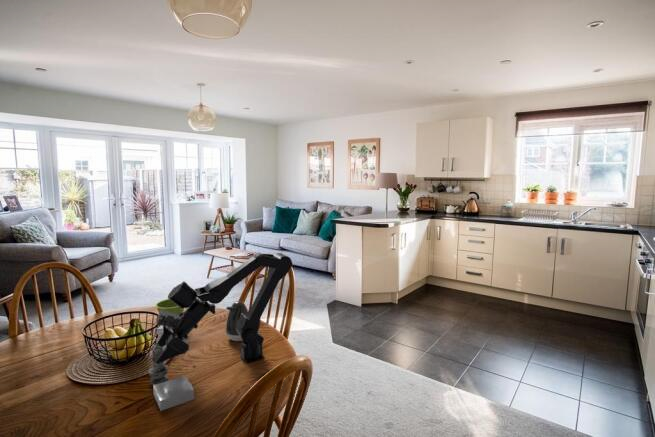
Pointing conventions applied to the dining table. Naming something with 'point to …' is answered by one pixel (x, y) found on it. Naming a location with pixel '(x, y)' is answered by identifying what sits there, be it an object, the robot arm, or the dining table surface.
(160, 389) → the rectangular block
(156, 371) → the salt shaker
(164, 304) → the plant pot
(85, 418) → the dining table surface
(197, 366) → the dining table surface
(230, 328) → the pump dispenser
